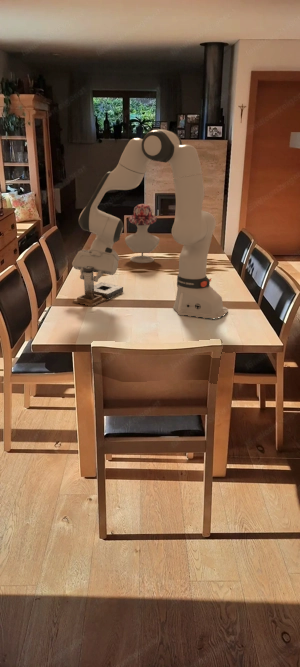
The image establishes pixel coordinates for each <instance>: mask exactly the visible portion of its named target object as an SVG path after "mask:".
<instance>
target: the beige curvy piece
mask: <svg viewBox="0 0 300 667" xmlns="http://www.w3.org/2000/svg"><path fill="white" fill-rule="evenodd" d="M157 219H158V217H157V216H155V215H153V209H152V207H151V206H150V205H149V204H146V203H140V204H139V203H138V204H137V205H136V206H135V207H134V208H133V214H131V215H130V216H128V221H129V223H131V224H132V225H135V226H136V227H137V229H136V232H135V233H132V234H129V235H127V236H126V237H125V239H124V242H125V245H126V246H127V247H128V248H129V249H130V250H131V251H132V253H140V254H141V255H137V256H132V257H130V258H129V259H130V261H131V262H133V263H138V264H148V263H149V264H150V263H152V262H154V261H155V258H154V257H152V256H148V255H144V253H145V254H150V253H152V252H153V251H154V250H155V249H156V248H157V247H158V245H159V243H160V241H161V239H160V237H158V236H156V235H153V234H151V233H150V232H148V229H149V227H150V225H153V224H154V223H156V222H157Z"/></svg>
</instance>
